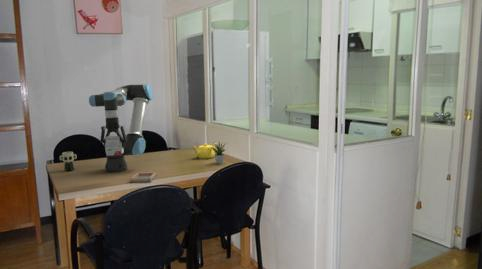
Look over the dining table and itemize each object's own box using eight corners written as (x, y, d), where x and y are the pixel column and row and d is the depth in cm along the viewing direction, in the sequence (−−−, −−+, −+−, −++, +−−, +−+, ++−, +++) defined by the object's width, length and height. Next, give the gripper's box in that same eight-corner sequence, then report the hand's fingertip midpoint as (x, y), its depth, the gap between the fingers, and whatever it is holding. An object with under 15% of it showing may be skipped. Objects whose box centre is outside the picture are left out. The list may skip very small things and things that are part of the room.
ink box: (122, 153, 241) (121, 135, 239) (120, 155, 236) (119, 136, 234) (109, 154, 241) (107, 135, 239) (106, 155, 236) (105, 136, 234)
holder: (129, 182, 234) (129, 178, 234) (137, 176, 249) (137, 172, 248) (150, 182, 233) (150, 178, 233) (157, 175, 248) (157, 172, 248)
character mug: (60, 172, 266) (58, 154, 264) (61, 170, 272) (59, 152, 270) (77, 170, 270) (76, 152, 268) (77, 168, 276) (76, 150, 274)
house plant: (224, 159, 290) (223, 138, 288) (234, 162, 279) (233, 140, 277) (207, 162, 283) (206, 140, 280) (217, 165, 271) (216, 143, 269)
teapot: (199, 161, 288) (198, 147, 286) (189, 158, 300) (188, 144, 299) (223, 157, 300) (223, 143, 299) (213, 154, 313) (213, 141, 311)
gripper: (92, 118, 232) (95, 154, 235) (126, 117, 231) (129, 154, 234) (97, 116, 239) (100, 152, 243) (131, 115, 238) (133, 151, 241)
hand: (114, 153), depth 238 cm, fingers closed on ink box, 9 cm apart
